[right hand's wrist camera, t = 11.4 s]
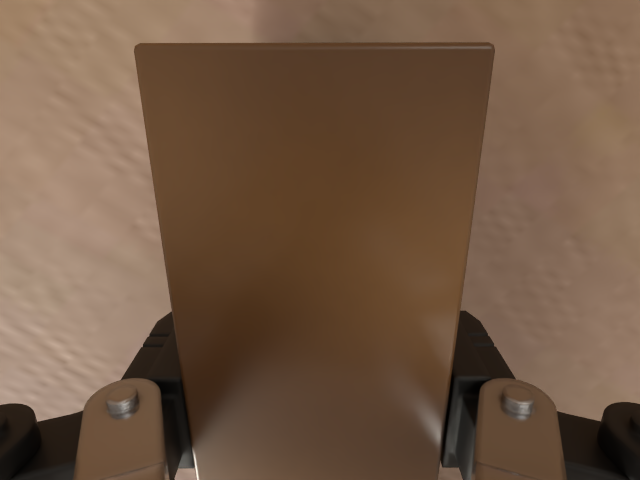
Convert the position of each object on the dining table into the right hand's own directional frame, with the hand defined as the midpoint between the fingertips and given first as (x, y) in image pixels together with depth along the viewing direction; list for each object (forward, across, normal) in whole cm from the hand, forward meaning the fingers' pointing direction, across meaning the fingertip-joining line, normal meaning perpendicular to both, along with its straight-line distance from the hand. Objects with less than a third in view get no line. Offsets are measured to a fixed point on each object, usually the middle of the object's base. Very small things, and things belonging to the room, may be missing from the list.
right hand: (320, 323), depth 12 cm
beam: (+4, 0, -29) cm, 30 cm away
